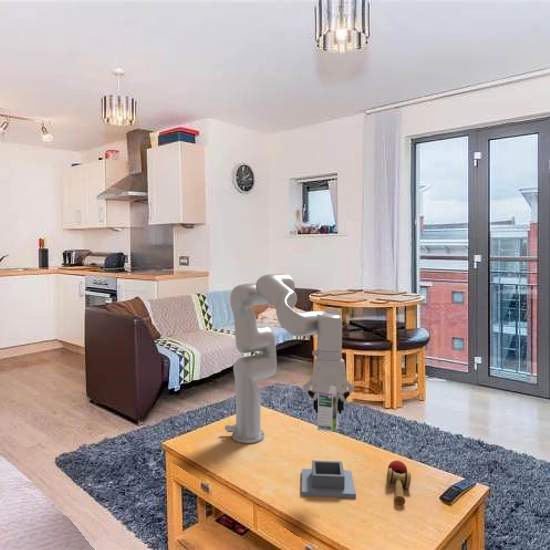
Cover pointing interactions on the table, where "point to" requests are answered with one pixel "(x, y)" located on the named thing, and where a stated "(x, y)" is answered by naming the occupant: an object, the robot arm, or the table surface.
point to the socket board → (327, 480)
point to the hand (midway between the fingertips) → (328, 411)
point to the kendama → (398, 479)
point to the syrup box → (328, 410)
